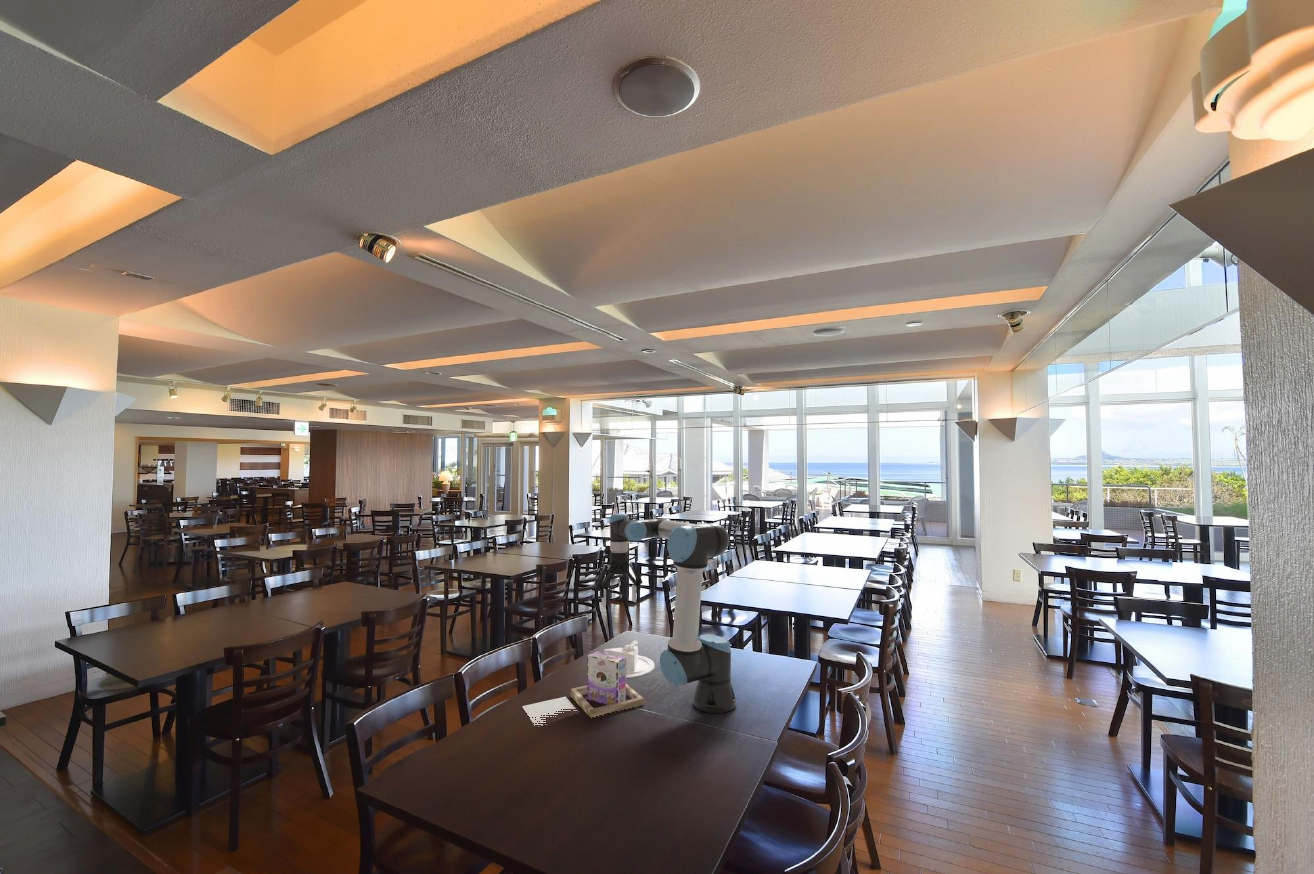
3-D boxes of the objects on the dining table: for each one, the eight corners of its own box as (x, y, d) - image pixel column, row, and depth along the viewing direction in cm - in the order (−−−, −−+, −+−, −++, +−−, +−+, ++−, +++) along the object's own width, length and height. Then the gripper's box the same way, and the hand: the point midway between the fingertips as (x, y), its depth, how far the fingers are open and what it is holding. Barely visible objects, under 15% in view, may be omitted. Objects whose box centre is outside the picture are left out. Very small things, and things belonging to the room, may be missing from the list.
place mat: (585, 721, 178) (585, 719, 178) (538, 733, 170) (538, 731, 170) (565, 698, 196) (565, 696, 196) (522, 707, 188) (522, 706, 188)
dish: (657, 658, 236) (657, 632, 237) (651, 681, 211) (651, 652, 212) (602, 655, 239) (602, 630, 239) (590, 678, 214) (590, 650, 214)
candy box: (626, 703, 192) (627, 657, 192) (617, 710, 187) (617, 662, 187) (596, 694, 199) (596, 649, 200) (586, 700, 194) (586, 654, 195)
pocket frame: (643, 706, 189) (643, 698, 189) (591, 720, 179) (591, 711, 179) (619, 685, 206) (619, 678, 206) (570, 696, 197) (570, 688, 197)
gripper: (642, 547, 229) (642, 597, 228) (587, 552, 218) (587, 605, 217) (650, 550, 223) (650, 601, 222) (594, 555, 211) (594, 609, 210)
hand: (619, 603), depth 219 cm, fingers open, 13 cm apart
